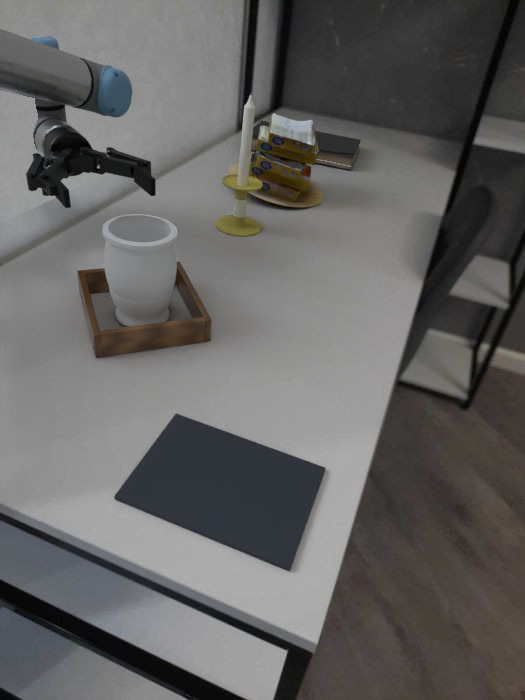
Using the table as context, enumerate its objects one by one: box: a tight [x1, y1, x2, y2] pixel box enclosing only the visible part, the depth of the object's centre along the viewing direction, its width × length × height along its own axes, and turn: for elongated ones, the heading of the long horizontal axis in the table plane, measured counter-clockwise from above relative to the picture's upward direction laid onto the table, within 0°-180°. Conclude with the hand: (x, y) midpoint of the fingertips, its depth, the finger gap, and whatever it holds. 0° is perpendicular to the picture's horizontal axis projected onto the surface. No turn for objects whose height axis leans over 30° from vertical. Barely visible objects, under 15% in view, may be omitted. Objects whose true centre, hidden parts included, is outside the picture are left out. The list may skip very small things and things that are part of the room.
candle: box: [215, 94, 263, 238], centre depth 105 cm, size 10×10×27 cm
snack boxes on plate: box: [227, 112, 324, 208], centre depth 128 cm, size 25×25×17 cm
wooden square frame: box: [76, 261, 213, 358], centre depth 82 cm, size 17×18×4 cm
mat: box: [113, 413, 326, 572], centre depth 59 cm, size 20×14×1 cm
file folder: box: [251, 120, 362, 171], centre depth 162 cm, size 33×4×24 cm
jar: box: [101, 213, 178, 327], centre depth 79 cm, size 11×10×15 cm
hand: (112, 193), depth 79 cm, fingers open, 13 cm apart
